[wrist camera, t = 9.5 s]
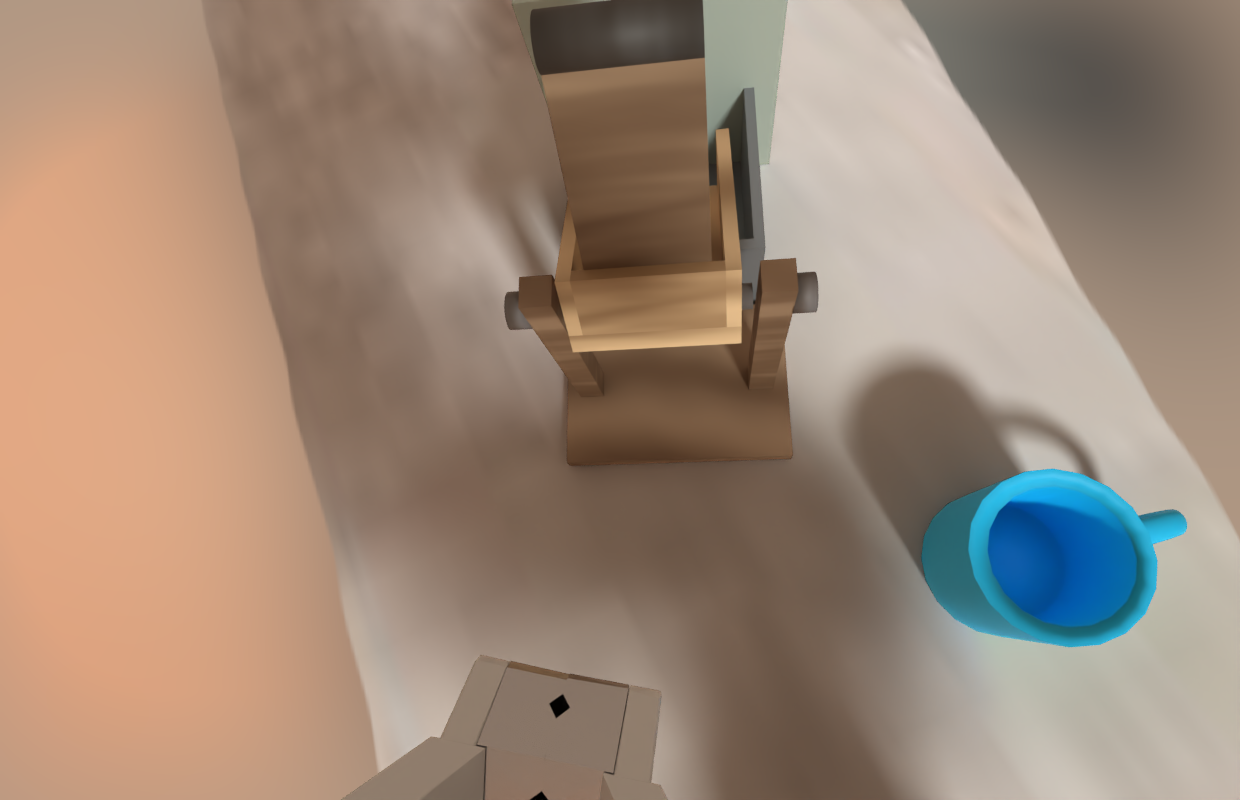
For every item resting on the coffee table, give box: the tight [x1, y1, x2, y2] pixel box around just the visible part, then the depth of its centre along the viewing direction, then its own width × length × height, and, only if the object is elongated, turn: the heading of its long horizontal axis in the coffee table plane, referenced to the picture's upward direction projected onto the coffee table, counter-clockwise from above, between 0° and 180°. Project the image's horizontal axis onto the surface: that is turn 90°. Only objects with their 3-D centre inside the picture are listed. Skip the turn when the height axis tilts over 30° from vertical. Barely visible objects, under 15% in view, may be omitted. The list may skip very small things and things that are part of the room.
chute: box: [530, 0, 753, 352], centre depth 28 cm, size 10×9×15 cm
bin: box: [512, 0, 788, 304], centre depth 41 cm, size 11×14×16 cm
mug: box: [921, 469, 1187, 647], centre depth 36 cm, size 12×8×8 cm
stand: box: [504, 258, 818, 466], centre depth 38 cm, size 10×14×16 cm
